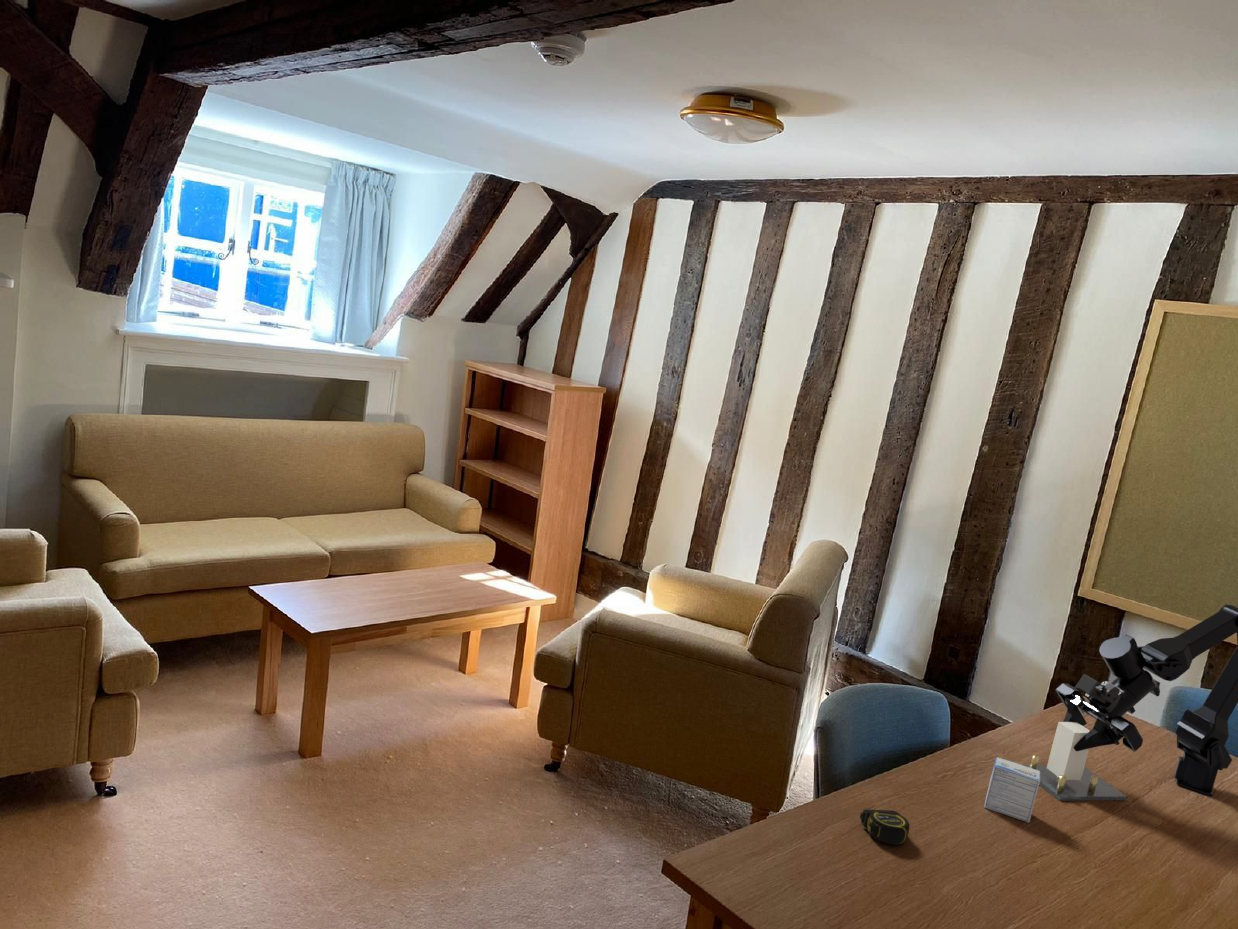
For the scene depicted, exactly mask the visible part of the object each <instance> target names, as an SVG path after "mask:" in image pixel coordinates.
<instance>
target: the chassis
mask: <svg viewBox="0 0 1238 929" xmlns="http://www.w3.org/2000/svg"><path fill="white" fill-rule="evenodd" d="M1039 760H1040V756H1039V755H1036V754H1032V757H1031V760H1030V761H1031V762H1030V764H1022V765H1023V766H1026V767H1029V768H1032V769H1035V770H1038V771H1040V784H1039V786H1040V787H1041V788H1043V789H1044V790H1045V791H1046V792H1048V793H1049V794H1050V795H1051V796H1052V797H1054V798H1055V799H1056V800H1058V801H1059V802H1062V801H1068V802H1069V801H1071V802H1073V801H1126V799H1127V797H1128V796H1126V795H1125V794H1124V793H1122V792H1121V791H1120V790H1119V789H1116V788H1115V787H1114V786H1112V784H1110V783H1108V782H1107V781H1105V779H1102V777H1100V776H1099V775H1098V774H1096V773H1094V772H1093V771H1091V770H1090V769H1089V768H1087V767H1086V766H1085V767H1084V771H1083V774H1082V778H1081V780H1066V778H1067V777H1066V776H1064V775H1060V777H1058V776H1056V775H1055V774H1054V773H1052V772H1051V771H1050V770H1048V769H1047V764H1039Z"/></svg>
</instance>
